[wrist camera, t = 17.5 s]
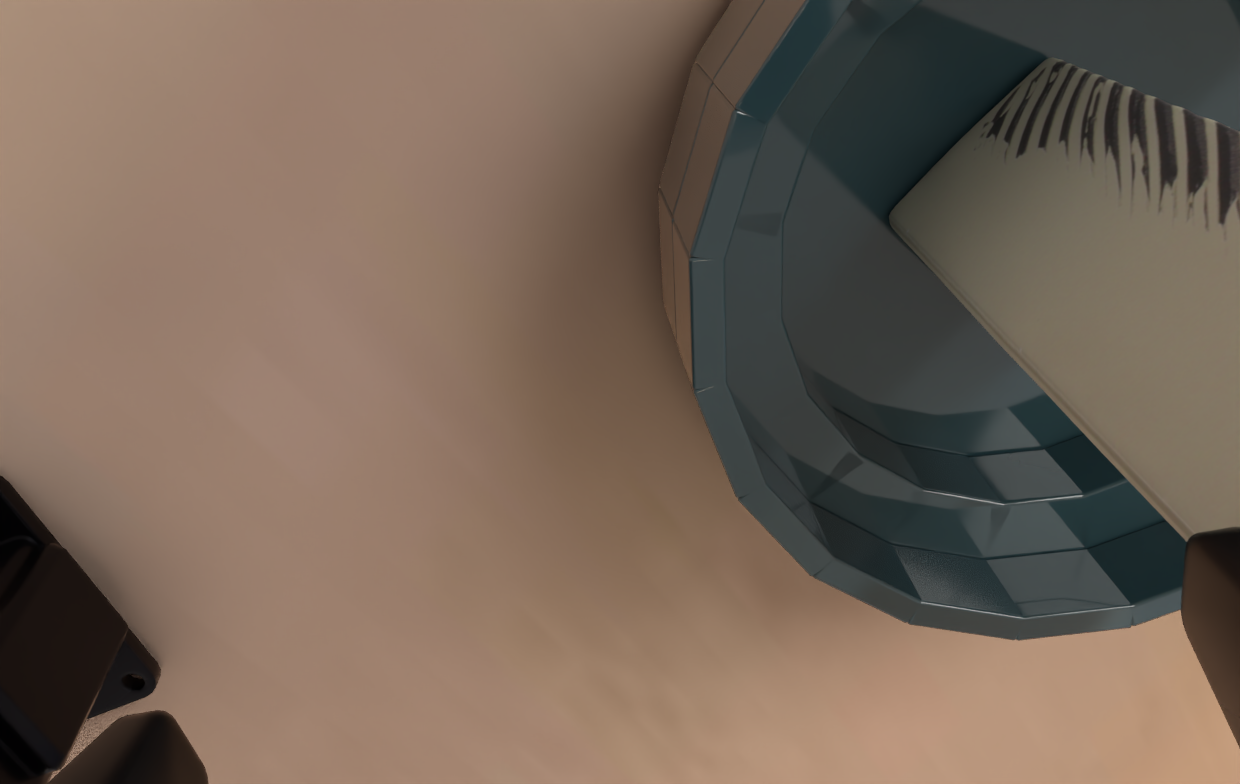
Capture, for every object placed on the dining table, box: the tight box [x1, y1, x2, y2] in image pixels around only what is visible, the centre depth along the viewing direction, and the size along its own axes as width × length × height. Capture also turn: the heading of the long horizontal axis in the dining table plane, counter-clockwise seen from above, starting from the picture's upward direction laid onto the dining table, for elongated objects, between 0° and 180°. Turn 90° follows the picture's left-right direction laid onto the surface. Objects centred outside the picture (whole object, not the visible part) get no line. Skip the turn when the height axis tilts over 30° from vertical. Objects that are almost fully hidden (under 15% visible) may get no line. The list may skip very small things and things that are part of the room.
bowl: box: [658, 0, 1240, 640], centre depth 20 cm, size 15×15×4 cm
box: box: [889, 58, 1240, 542], centre depth 15 cm, size 5×4×13 cm
